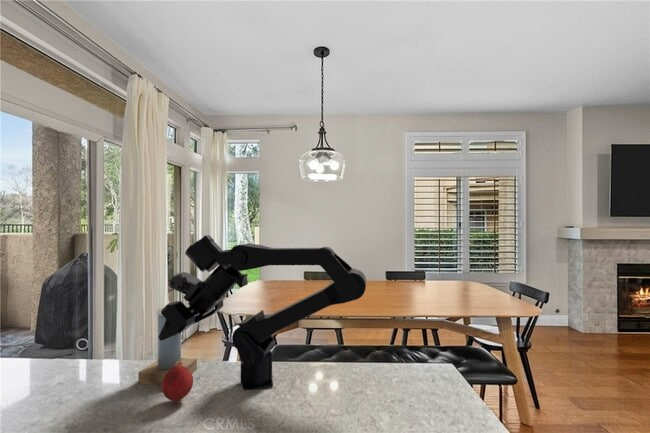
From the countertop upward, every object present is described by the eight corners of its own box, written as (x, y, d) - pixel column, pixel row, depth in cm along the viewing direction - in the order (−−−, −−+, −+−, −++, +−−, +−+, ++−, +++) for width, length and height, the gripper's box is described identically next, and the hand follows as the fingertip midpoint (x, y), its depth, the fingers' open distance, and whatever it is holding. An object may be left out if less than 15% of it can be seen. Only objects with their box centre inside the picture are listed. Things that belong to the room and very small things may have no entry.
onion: (181, 411, 66) (181, 369, 66) (154, 408, 67) (155, 366, 68) (198, 396, 72) (198, 357, 72) (173, 393, 73) (174, 355, 73)
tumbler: (185, 360, 84) (185, 306, 84) (176, 369, 79) (176, 312, 79) (162, 360, 84) (162, 306, 84) (152, 370, 79) (152, 312, 79)
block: (196, 369, 85) (196, 359, 85) (175, 386, 76) (175, 374, 76) (162, 366, 87) (163, 356, 87) (138, 383, 78) (138, 372, 78)
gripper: (211, 257, 90) (172, 298, 92) (169, 266, 72) (121, 318, 73) (241, 288, 89) (200, 330, 90) (205, 305, 71) (155, 357, 72)
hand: (172, 332), depth 82 cm, fingers open, 9 cm apart
